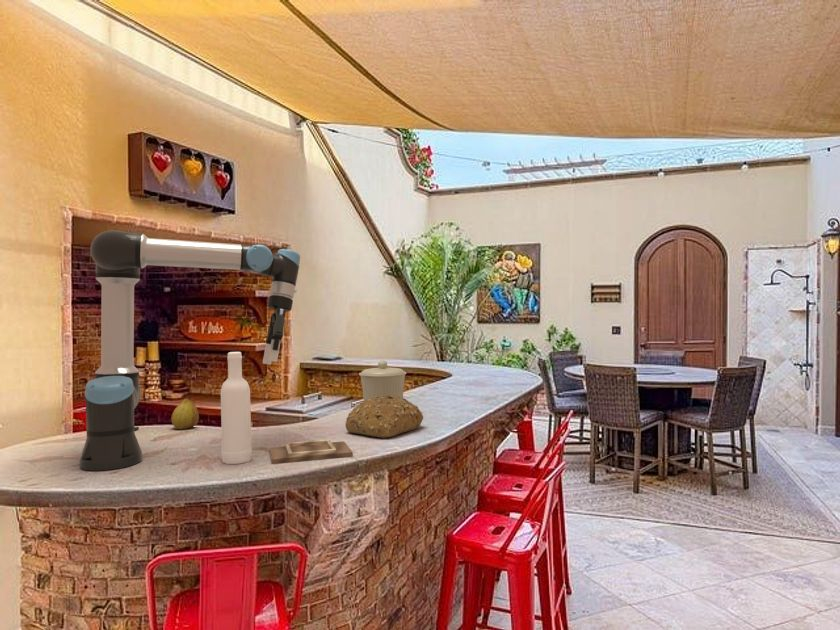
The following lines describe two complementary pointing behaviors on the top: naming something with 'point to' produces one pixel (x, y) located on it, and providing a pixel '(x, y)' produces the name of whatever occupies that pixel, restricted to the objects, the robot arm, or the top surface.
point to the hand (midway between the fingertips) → (269, 362)
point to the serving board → (309, 451)
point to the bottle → (235, 414)
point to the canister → (382, 381)
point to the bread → (384, 417)
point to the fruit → (185, 415)
